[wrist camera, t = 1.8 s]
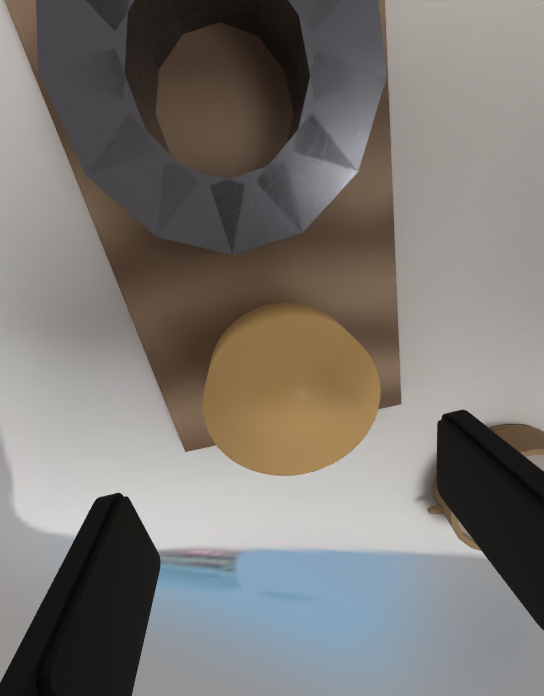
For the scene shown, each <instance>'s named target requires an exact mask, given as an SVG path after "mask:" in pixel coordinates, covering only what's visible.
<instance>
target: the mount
mask: <svg viewBox="0 0 544 696" xmlns="http://www.w3.org/2000/svg"><path fill="white" fill-rule="evenodd" d="M5 2H6V5H7V7H8V10H9V12H10V15H11V17H12V20H13V22H14V25H15V27H16V30H17V32H18V35H19V37H20V40H21V42H22V45H23V47H24V50H25V52H26V55H27V57H28V60H29V62H30V65H31V67H32V70H33V72H34V75H35V77H36V80H37V82H38V85H39V87H40V90H41V92H42V95H43V97H44V100H45V102H46V105H47V107H48V110H49V112H50V115H51V117H52V120H53V122H54V125H55V127H56V130H57V132H58V135H59V137H60V140H61V142H62V145H63V147H64V150H65V152H66V155H67V157H68V160H69V162H70V165H71V167H72V170H73V172H74V175H75V177H76V180H77V182H78V185H79V187H80V190H81V192H82V195H83V197H84V200H85V202H86V205H87V207H88V210H89V212H90V215H91V217H92V220H93V222H94V225H95V227H96V230H97V232H98V235H99V237H100V240H101V242H102V245H103V247H104V250H105V252H106V255H107V257H108V260H109V262H110V265H111V267H112V270H113V272H114V275H115V277H116V280H117V282H118V285H119V287H120V290H121V292H122V295H123V297H124V300H125V302H126V305H127V307H128V310H129V312H130V315H131V317H132V320H133V322H134V325H135V327H136V330H137V332H138V335H139V337H140V340H141V342H142V345H143V347H144V350H145V352H146V355H147V357H148V360H149V362H150V365H151V367H152V370H153V372H154V375H155V377H156V380H157V382H158V385H159V387H160V390H161V392H162V395H163V397H164V400H165V402H166V405H167V407H168V410H169V412H170V415H171V417H172V420H173V422H174V425H175V427H176V430H177V432H178V435H179V437H180V440H181V442H182V445H183V447H184V450H185V452H188V451H192V450H197V449H201V448H206V447H210V446H215V445H216V444H215V442H214V441H213V439H212V438H211V436H210V434H209V432H208V430H207V427H206V424H205V420H204V416H203V404H202V402H203V393H204V388H205V384H206V379H207V375H208V371H209V367H210V362H211V358H212V355H213V351H214V349H215V347H216V344H217V343H218V341H219V339H220V338H221V336H222V335H223V333H224V332H225V331H226V330H227V328H228V327H229V326H230V325H231V324H233V323H234V322H235V321H236V320H237V319H239V318H240V317H241V316H243V315H244V314H246V313H248V312H250V311H252V310H254V309H256V308H259V307H262V306H265V305H269V304H273V303H282V302H291V303H300V304H306V305H309V306H312V307H315V308H317V309H320V310H322V311H324V312H325V313H327V314H328V315H330V316H331V317H333V318H334V319H335V320H336V321H337V322H338V323H339V324H341V325H342V326H343V327H344V328H345V329H346V330H347V331H348V332H349V333H350V334H351V335H352V336H353V337H354V338H355V339H356V340H357V341H358V342H359V343H360V344H361V345H362V346H363V348H364V349H365V350H366V351H367V352H368V354H369V355H370V357H371V359H372V360H373V362H374V364H375V367H376V369H377V372H378V376H379V380H380V390H381V392H380V403H379V408H378V409H381V408H386V407H390V406H395V405H399V404H401V387H400V363H399V338H398V314H397V289H396V264H395V240H394V215H393V191H392V166H391V142H390V117H389V93H388V68H387V44H386V19H385V0H378V2H379V11H380V20H381V28H382V37H383V46H384V55H385V64H386V73H387V77H386V81H385V84H384V87H383V91H382V94H381V97H380V101H379V104H378V107H377V111H376V114H375V117H374V121H373V124H372V127H371V131H370V134H369V138H368V141H367V144H366V148H365V151H364V154H363V158H362V161H361V164H360V168H359V171H358V173H357V174H356V175H355V176H354V177H353V178H352V179H351V180H350V181H349V182H348V184H347V185H346V186H345V187H344V188H343V189H342V190H341V191H340V192H339V193H338V195H337V196H336V197H335V198H334V199H333V200H332V201H331V202H330V203H329V204H328V205H327V207H326V208H325V209H324V210H323V211H322V212H321V213H320V214H319V215H318V216H317V218H316V219H315V220H314V221H313V222H312V223H311V224H310V225H309V226H308V227H307V229H306V230H305V231H304V232H303V233H300V234H297V235H294V236H290V237H287V238H284V239H281V240H278V241H275V242H272V243H268V244H265V245H262V246H259V247H256V248H253V249H250V250H246V251H243V252H240V253H237V254H234V255H230V254H226V253H222V252H218V251H214V250H210V249H205V248H201V247H197V246H193V245H189V244H184V243H180V242H176V241H172V240H168V239H164V238H159V237H156V236H155V235H154V234H153V233H152V232H150V231H149V230H148V229H147V228H146V227H145V226H144V225H142V224H141V223H140V222H139V221H138V220H137V219H135V218H134V217H133V216H132V215H131V214H130V213H129V212H127V211H126V210H125V209H124V208H123V207H122V206H120V205H119V204H118V203H117V202H116V201H115V200H114V199H112V198H111V197H110V196H109V195H108V194H107V193H106V192H104V191H103V190H102V189H101V188H100V187H99V186H97V185H96V184H95V183H94V182H93V181H92V180H91V179H89V178H88V177H87V176H86V174H85V172H84V170H83V168H82V166H81V163H80V161H79V159H78V157H77V155H76V153H75V151H74V149H73V146H72V144H71V142H70V140H69V138H68V136H67V134H66V132H65V129H64V127H63V125H62V123H61V121H60V119H59V117H58V115H57V113H56V110H55V108H54V106H53V104H52V102H51V100H50V98H49V96H48V93H47V91H46V89H45V87H44V85H43V83H42V81H41V79H40V76H39V74H38V51H37V16H36V0H5ZM293 115H294V112H293V108H292V103H291V98H290V94H289V89H288V84H287V80H286V75H285V71H284V69H283V68H282V67H281V65H280V64H279V63H278V62H277V60H276V59H275V58H274V56H273V55H272V54H271V53H270V51H269V50H268V49H267V47H266V46H265V45H264V44H263V42H262V41H261V40H260V39H259V37H258V36H256V35H254V34H251V33H248V32H245V31H243V30H240V29H237V28H234V27H232V26H229V25H226V24H224V23H221V22H218V23H215V24H212V25H209V26H207V27H204V28H201V29H198V30H195V31H192V32H189V33H186V34H183V35H182V36H181V38H180V39H179V41H178V42H177V44H176V45H175V47H174V48H173V50H172V51H171V53H170V54H169V56H168V57H167V59H166V60H165V62H164V63H163V65H162V66H161V68H160V69H159V79H158V91H157V103H156V116H157V119H158V122H159V124H160V127H161V130H162V133H163V135H164V138H165V141H166V144H167V146H168V149H169V152H170V154H171V155H172V156H173V157H174V158H175V159H176V160H177V161H178V162H179V163H180V164H181V165H182V166H183V167H184V168H187V169H191V170H194V171H198V172H201V173H205V174H209V175H212V176H216V177H219V178H223V179H226V180H227V179H230V178H234V177H237V176H240V175H243V174H246V173H249V172H252V171H255V170H258V169H261V168H264V167H267V166H268V165H269V164H270V163H271V162H272V161H273V159H274V158H275V157H276V156H277V155H278V153H279V152H280V151H281V150H282V149H283V147H284V146H285V145H286V144H287V142H288V138H289V133H290V128H291V124H292V119H293Z"/></svg>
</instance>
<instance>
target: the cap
mask: <svg viewBox="0 0 544 696" xmlns="http://www.w3.org/2000/svg"><path fill="white" fill-rule="evenodd" d="M380 392H381V390H380V380H379V376H378V372H377V369H376V367H375V364H374V362H373V360H372V359H371V357H370V355H369V354H368V352H367V351H366V350H365V349H364V348H363V346H362V345H361V344H360V343H359V342H358V341H357V340H356V339H355V338H354V337H353V336H352V335H351V334H350V333H349V332H348V331H347V330H346V329H345V328H344V327H343V326H342V325H341V324H339V323H338V322H337V321H336V320H335V319H334V318H333V317H331V316H330V315H328V314H327V313H325V312H324V311H322V310H320V309H317V308H315V307H312V306H309V305H306V304H300V303H291V302H282V303H273V304H269V305H265V306H262V307H259V308H256V309H254V310H252V311H250V312H248V313H246V314H244V315H243V316H241V317H240V318H239V319H237V320H236V321H235V322H234V323H233V324H231V325H230V326H229V327H228V328H227V330H226V331H225V332H224V333H223V335H222V336H221V338H220V339H219V341H218V343H217V344H216V347H215V349H214V351H213V355H212V358H211V362H210V367H209V371H208V375H207V379H206V384H205V388H204V393H203V402H202V404H203V416H204V420H205V424H206V427H207V430H208V432H209V434H210V436H211V438H212V439H213V441H214V442H215V444H216V445H217V446H218V448H219V449H220V450H221V451H222V452H223V453H224V454H225V455H226V456H228V457H229V458H230V459H232V460H233V461H234V462H236V463H238V464H239V465H241V466H243V467H245V468H248V469H250V470H253V471H256V472H260V473H264V474H269V475H280V476H288V475H299V474H305V473H309V472H313V471H316V470H319V469H322V468H324V467H327V466H329V465H331V464H333V463H335V462H336V461H338V460H340V459H341V458H343V457H344V456H346V455H347V454H348V453H350V452H351V451H352V450H353V449H354V448H355V447H356V446H357V445H358V444H359V443H360V442H361V441H362V439H363V438H364V437H365V436H366V434H367V433H368V431H369V430H370V428H371V426H372V424H373V422H374V420H375V417H376V415H377V412H378V408H379V403H380Z"/></svg>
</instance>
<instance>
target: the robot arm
mask: <svg viewBox="0 0 544 696" xmlns="http://www.w3.org/2000/svg"><path fill="white" fill-rule="evenodd" d="M437 490H438V492H439V495H440V496H441V498H442V499H443V501H444V502H445V503H446V505H447V506H448V507H449V509H450V510H451V511H452V513H453V514H454V515H455V517H456V518H457V519H458V520H459V522H460V523H461V524H462V526H463V527H464V528H465V530H466V531H467V532H468V534H469V535H470V536H471V537H472V539H473V540H474V541H475V543H476V544H477V545H478V547H479V548H480V549H481V551H482V552H483V553H484V554H485V556H486V557H487V558H488V560H489V561H490V562H491V564H492V565H493V566H494V567H495V569H496V570H497V572H498V573H499V574H500V575H501V577H502V578H503V579H504V581H505V582H506V583H507V585H508V586H509V587H510V588H511V590H512V591H513V592H514V594H515V595H516V596H517V598H518V599H519V600H520V602H521V603H522V604H523V606H524V607H525V608H526V609H527V611H528V612H529V613H530V615H531V616H532V617H533V619H534V620H535V621H536V623H537V624H538V625H539V626H540V627H541V628H542V629H543V630H544V471H543V470H541V469H540V468H539V467H538V466H536V465H535V464H534V463H533V462H531V461H530V460H529V459H527V458H526V457H525V456H524V455H522V454H521V453H520V452H519V451H517V450H516V449H515V448H514V447H512V446H511V445H510V444H508V443H507V442H506V441H505V440H503V439H502V438H501V437H500V436H498V435H497V434H496V433H494V432H493V431H492V430H491V429H489V428H488V427H487V426H486V425H484V424H483V423H482V422H480V421H479V420H478V419H477V418H475V417H474V416H473V415H472V414H470V413H469V412H468V411H466V410H459V411H455V412H451V413H446V414H443V416H442V419H441V420H440V421H438V424H437ZM159 571H160V556H159V554H158V552H157V550H156V548H155V546H154V544H153V542H152V540H151V538H150V537H149V535H148V533H147V531H146V529H145V527H144V525H143V523H142V522H141V520H140V518H139V516H138V514H137V512H136V510H135V508H134V507H133V505H132V503H131V501H130V499H129V498H128V497H127V496H126V497H124V496H123V495H122V494H121V493H115V494H111V495H107V496H103V497H99V498H97V499H96V500H95V502H94V503H93V505H92V507H91V509H90V511H89V513H88V515H87V517H86V519H85V521H84V523H83V525H82V526H81V528H80V530H79V532H78V534H77V536H76V538H75V540H74V542H73V544H72V546H71V548H70V550H69V552H68V553H67V555H66V558H65V559H64V561H63V563H62V565H61V567H60V569H59V571H58V573H57V575H56V577H55V578H54V581H53V582H52V584H51V586H50V588H49V590H48V592H47V594H46V596H45V598H44V600H43V602H42V603H41V605H40V607H39V610H38V611H37V613H36V615H35V617H34V619H33V621H32V623H31V625H30V627H29V628H28V630H27V632H26V634H25V637H24V638H23V640H22V642H21V644H20V646H19V648H18V650H17V652H16V654H15V655H14V658H13V659H12V661H11V663H10V665H9V667H8V669H7V671H6V673H5V675H4V677H3V679H2V681H1V683H0V696H132V692H133V687H134V682H135V678H136V674H137V669H138V665H139V660H140V656H141V651H142V647H143V642H144V638H145V633H146V629H147V625H148V620H149V616H150V611H151V607H152V602H153V598H154V593H155V589H156V584H157V580H158V575H159Z"/></svg>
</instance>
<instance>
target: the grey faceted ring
mask: <svg viewBox="0 0 544 696" xmlns="http://www.w3.org/2000/svg"><path fill="white" fill-rule="evenodd" d="M36 16H37V51H38V74H39V76H40V79H41V81H42V83H43V85H44V87H45V89H46V91H47V93H48V96H49V98H50V100H51V102H52V104H53V106H54V108H55V110H56V113H57V115H58V117H59V119H60V121H61V123H62V125H63V127H64V129H65V132H66V134H67V136H68V138H69V140H70V142H71V144H72V146H73V149H74V151H75V153H76V155H77V157H78V159H79V161H80V163H81V166H82V168H83V170H84V172H85V174H86V176H87V177H88V178H89V179H91V180H92V181H93V182H94V183H95V184H96V185H97V186H99V187H100V188H101V189H102V190H103V191H104V192H106V193H107V194H108V195H109V196H110V197H111V198H112V199H114V200H115V201H116V202H117V203H118V204H119V205H120V206H122V207H123V208H124V209H125V210H126V211H127V212H129V213H130V214H131V215H132V216H133V217H134V218H135V219H137V220H138V221H139V222H140V223H141V224H142V225H144V226H145V227H146V228H147V229H148V230H149V231H150V232H152V233H153V234H154V235H155V236H156V237H159V238H164V239H168V240H172V241H176V242H180V243H184V244H189V245H193V246H197V247H201V248H205V249H210V250H214V251H218V252H222V253H226V254H230V255H234V254H237V253H240V252H243V251H246V250H250V249H253V248H256V247H259V246H262V245H265V244H268V243H272V242H275V241H278V240H281V239H284V238H287V237H290V236H294V235H297V234H300V233H303V232H304V231H305V230H306V229H307V227H308V226H309V225H310V224H311V223H312V222H313V221H314V220H315V219H316V218H317V216H318V215H319V214H320V213H321V212H322V211H323V210H324V209H325V208H326V207H327V205H328V204H329V203H330V202H331V201H332V200H333V199H334V198H335V197H336V196H337V195H338V193H339V192H340V191H341V190H342V189H343V188H344V187H345V186H346V185H347V184H348V182H349V181H350V180H351V179H352V178H353V177H354V176H355V175H356V174H357V173H358V171H359V168H360V164H361V161H362V158H363V154H364V151H365V148H366V144H367V141H368V138H369V134H370V131H371V127H372V124H373V121H374V117H375V114H376V111H377V107H378V104H379V101H380V97H381V94H382V91H383V87H384V84H385V81H386V77H387V73H386V64H385V55H384V46H383V37H382V28H381V20H380V11H379V2H378V0H36ZM218 22H221V23H224V24H226V25H229V26H232V27H234V28H237V29H240V30H243V31H245V32H248V33H251V34H254V35H256V36H258V37H259V39H260V40H261V41H262V42H263V44H264V45H265V46H266V47H267V49H268V50H269V51H270V53H271V54H272V55H273V56H274V58H275V59H276V60H277V62H278V63H279V64H280V65H281V67H282V68H283V69H284V71H285V75H286V80H287V84H288V89H289V94H290V98H291V103H292V108H293V112H294V115H293V119H292V124H291V128H290V133H289V138H288V142H287V144H286V145H285V146H284V147H283V149H282V150H281V151H280V152H279V153H278V155H277V156H276V157H275V158H274V159H273V161H272V162H271V163H270V164H269V165H268V166H267V167H264V168H261V169H258V170H255V171H252V172H249V173H246V174H243V175H240V176H237V177H234V178H230V179H227V180H226V179H223V178H219V177H216V176H212V175H209V174H205V173H201V172H198V171H194V170H191V169H187V168H184V167H183V166H182V165H181V164H180V163H179V162H178V161H177V160H176V159H175V158H174V157H173V156H172V155H171V154H170V152H169V149H168V146H167V144H166V141H165V138H164V135H163V133H162V130H161V127H160V124H159V122H158V119H157V116H156V103H157V91H158V79H159V69H160V68H161V66H162V65H163V63H164V62H165V60H166V59H167V57H168V56H169V54H170V53H171V51H172V50H173V48H174V47H175V45H176V44H177V42H178V41H179V39H180V38H181V36H182V35H183V34H186V33H189V32H192V31H195V30H198V29H201V28H204V27H207V26H209V25H212V24H215V23H218Z"/></svg>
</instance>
